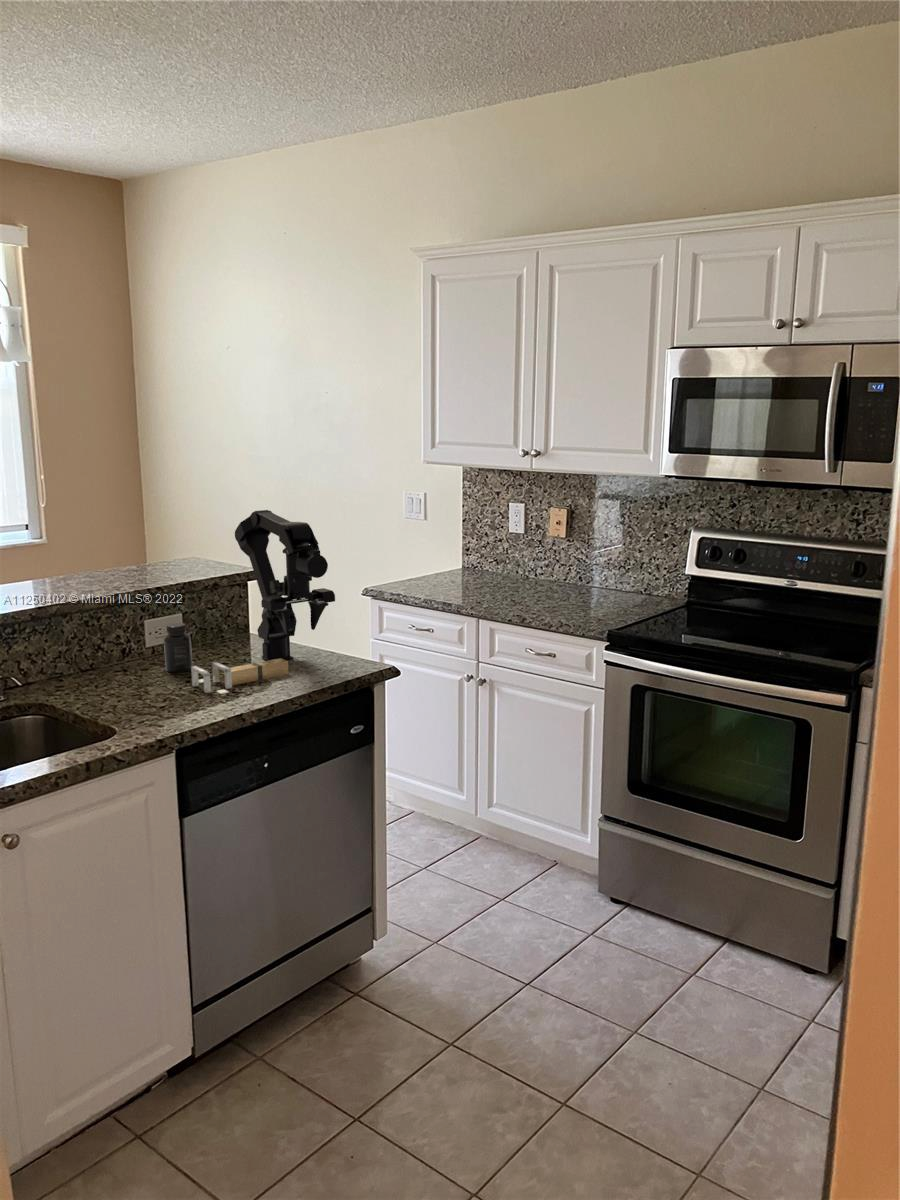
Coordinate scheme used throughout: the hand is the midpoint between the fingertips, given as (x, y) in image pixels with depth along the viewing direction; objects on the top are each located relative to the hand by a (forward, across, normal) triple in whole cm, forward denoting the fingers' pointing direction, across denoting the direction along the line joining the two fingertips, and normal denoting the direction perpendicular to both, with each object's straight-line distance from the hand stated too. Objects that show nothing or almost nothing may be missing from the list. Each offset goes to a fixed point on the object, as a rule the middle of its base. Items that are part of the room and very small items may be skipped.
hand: (299, 631), depth 249 cm
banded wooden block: (+10, +13, 0) cm, 16 cm away
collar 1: (+10, +28, 0) cm, 30 cm away
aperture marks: (+10, +25, 0) cm, 27 cm away
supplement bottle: (+10, +25, -20) cm, 33 cm away
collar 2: (+10, +22, 0) cm, 24 cm away
